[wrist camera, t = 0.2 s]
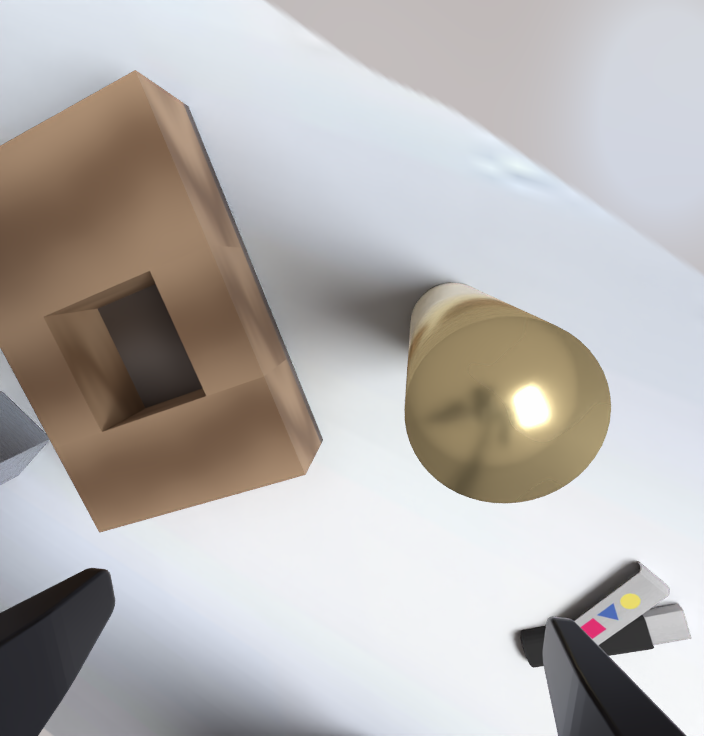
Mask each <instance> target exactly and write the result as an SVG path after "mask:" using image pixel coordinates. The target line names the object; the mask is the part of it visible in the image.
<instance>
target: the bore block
mask: <svg viewBox="0 0 704 736" xmlns="http://www.w3.org/2000/svg"><path fill="white" fill-rule="evenodd" d="M0 348H1V350H2V352H3V353H4V355H5V357H6V359H7V361H8V363H9V365H10V366H11V368H12V370H13V372H14V374H15V376H16V378H17V380H18V381H19V383H20V385H21V387H22V389H23V391H24V393H25V394H26V396H27V398H28V400H29V402H30V404H31V406H32V408H33V409H34V411H35V413H36V415H37V417H38V419H39V421H40V422H41V424H42V426H43V428H44V430H45V432H46V434H47V436H48V437H49V439H50V441H51V443H52V445H53V447H54V449H55V450H56V452H57V454H58V456H59V458H60V460H61V462H62V464H63V465H64V467H65V469H66V471H67V473H68V475H69V477H70V479H71V480H72V482H73V484H74V486H75V488H76V490H77V492H78V493H79V495H80V497H81V499H82V501H83V503H84V505H85V507H86V508H87V510H88V512H89V514H90V516H91V518H92V520H93V521H94V523H95V525H96V527H97V529H98V531H99V532H103V531H107V530H110V529H114V528H117V527H121V526H124V525H128V524H132V523H135V522H139V521H142V520H146V519H149V518H153V517H157V516H160V515H164V514H167V513H171V512H174V511H178V510H181V509H185V508H189V507H192V506H196V505H199V504H203V503H206V502H210V501H214V500H217V499H221V498H224V497H228V496H231V495H235V494H239V493H242V492H246V491H249V490H253V489H256V488H260V487H263V486H267V485H271V484H274V483H278V482H281V481H285V480H288V479H292V478H296V477H299V476H303V475H305V474H306V472H307V470H308V468H309V466H310V464H311V463H312V461H313V459H314V457H315V455H316V453H317V451H318V449H319V447H320V445H321V443H322V441H323V439H322V436H321V434H320V431H319V429H318V426H317V424H316V421H315V419H314V416H313V414H312V411H311V409H310V407H309V404H308V402H307V399H306V397H305V394H304V392H303V389H302V387H301V384H300V382H299V379H298V377H297V374H296V372H295V369H294V367H293V364H292V362H291V360H290V357H289V355H288V352H287V350H286V347H285V345H284V342H283V340H282V337H281V335H280V332H279V330H278V327H277V325H276V322H275V320H274V317H273V315H272V313H271V310H270V308H269V305H268V303H267V300H266V298H265V295H264V293H263V290H262V288H261V285H260V283H259V280H258V278H257V275H256V273H255V270H254V268H253V265H252V263H251V261H250V258H249V256H248V253H247V251H246V248H245V246H244V243H243V241H242V238H241V236H240V233H239V231H238V228H237V226H236V223H235V221H234V218H233V216H232V214H231V211H230V209H229V206H228V204H227V201H226V199H225V196H224V194H223V191H222V189H221V186H220V184H219V181H218V179H217V176H216V174H215V171H214V169H213V167H212V164H211V162H210V159H209V157H208V154H207V152H206V149H205V147H204V144H203V142H202V139H201V137H200V134H199V132H198V129H197V127H196V124H195V122H194V120H193V117H192V115H191V112H190V110H189V107H188V106H187V105H186V104H184V103H183V102H181V101H180V100H178V99H177V98H175V97H174V96H172V95H171V94H170V93H168V92H167V91H165V90H164V89H162V88H161V87H159V86H158V85H156V84H155V83H153V82H152V81H151V80H149V79H148V78H146V77H145V76H143V75H142V74H140V73H139V72H137V71H136V70H135V71H133V72H131V73H129V74H128V75H126V76H124V77H122V78H120V79H119V80H117V81H115V82H113V83H112V84H110V85H108V86H106V87H104V88H103V89H101V90H99V91H97V92H95V93H94V94H92V95H90V96H88V97H87V98H85V99H83V100H81V101H79V102H78V103H76V104H74V105H72V106H70V107H69V108H67V109H65V110H63V111H62V112H60V113H58V114H56V115H54V116H53V117H51V118H49V119H47V120H46V121H44V122H42V123H40V124H38V125H37V126H35V127H33V128H31V129H29V130H28V131H26V132H24V133H22V134H21V135H19V136H17V137H15V138H13V139H12V140H10V141H8V142H6V143H5V144H3V145H1V146H0Z"/></svg>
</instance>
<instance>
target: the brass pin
mask: <svg viewBox="0 0 704 736" xmlns="http://www.w3.org/2000/svg"><path fill="white" fill-rule="evenodd" d="M610 413H611V400H610V392H609V387H608V383H607V380H606V378H605V375H604V372H603V370H602V368H601V367H600V365H599V363H598V361H597V360H596V358H595V357H594V356H593V354H592V353H591V352H590V350H589V349H588V348H587V347H586V346H585V345H584V344H583V343H582V342H581V341H580V340H578V339H577V338H575V337H574V336H573V335H571V334H570V333H569V332H567V331H565V330H563V329H561V328H559V327H557V326H555V325H553V324H551V323H549V322H547V321H544V320H542V319H540V318H538V317H536V316H534V315H531V314H529V313H527V312H525V311H523V310H520V309H518V308H516V307H514V306H512V305H510V304H507V303H505V302H503V301H501V300H499V299H496V298H494V297H492V296H490V295H488V294H485V293H483V292H481V291H479V290H477V289H475V288H472V287H470V286H468V285H465V284H460V283H446V284H441V285H438V286H436V287H434V288H432V289H430V290H429V291H427V292H426V293H425V294H424V295H423V296H422V297H421V298H420V299H419V300H418V302H417V303H416V305H415V307H414V309H413V312H412V315H411V322H410V336H409V351H408V366H407V381H406V396H405V424H406V431H407V434H408V438H409V441H410V444H411V446H412V448H413V450H414V452H415V454H416V456H417V457H418V459H419V461H420V462H421V464H422V465H423V466H424V467H425V468H426V470H427V471H428V472H429V473H430V474H431V475H432V476H433V477H434V478H435V479H437V480H438V481H439V482H440V483H442V484H443V485H445V486H446V487H448V488H449V489H451V490H453V491H455V492H457V493H459V494H461V495H464V496H466V497H469V498H472V499H476V500H480V501H485V502H492V503H516V502H523V501H529V500H533V499H536V498H540V497H543V496H546V495H548V494H550V493H552V492H555V491H557V490H558V489H560V488H562V487H564V486H565V485H567V484H568V483H570V482H571V481H572V480H574V479H575V478H576V477H577V476H579V475H580V474H581V473H582V472H583V471H584V470H585V469H586V468H587V467H588V465H589V464H590V463H591V462H592V460H593V459H594V458H595V456H596V455H597V453H598V451H599V449H600V448H601V446H602V444H603V441H604V439H605V436H606V434H607V430H608V426H609V422H610Z"/></svg>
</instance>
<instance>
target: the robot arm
mask: <svg viewBox="0 0 704 736" xmlns="http://www.w3.org/2000/svg"><path fill="white" fill-rule="evenodd" d="M114 606H115V596H114V591H113V585H112V580H111V575H110V573H109V572H108V570H106V569H97V568H89V569H86V570H84V571H82V572H80V573H78V574H76V575H74V576H72V577H70V578H68V579H66V580H64V581H62V582H60V583H58V584H56V585H54V586H52V587H50V588H48V589H46V590H44V591H42V592H40V593H39V594H37V595H35V596H33V597H31V598H29V599H27V600H25V601H23V602H21V603H19V604H17V605H15V606H13V607H11V608H9V609H7V610H5V611H3V612H1V613H0V736H38V735H39V733H40V732H41V730H42V729H43V728H44V726H45V725H46V723H47V722H48V720H49V719H50V717H51V716H52V714H53V713H54V711H55V710H56V708H57V707H58V705H59V704H60V702H61V701H62V699H63V698H64V696H65V694H66V693H67V691H68V690H69V688H70V686H71V685H72V683H73V681H74V680H75V678H76V676H77V675H78V673H79V671H80V669H81V667H82V666H83V664H84V662H85V660H86V659H87V657H88V655H89V653H90V652H91V650H92V648H93V646H94V644H95V643H96V641H97V639H98V637H99V636H100V634H101V632H102V630H103V628H104V627H105V625H106V623H107V621H108V620H109V618H110V616H111V614H112V612H113V609H114ZM543 664H544V669H545V674H546V679H547V684H548V689H549V693H550V698H551V703H552V708H553V713H554V718H555V722H556V727H557V732H558V736H686V735H685V734H684V733H683V732H682V731H681V730H680V729H679V728H678V727H677V726H676V725H675V724H674V722H673V721H672V720H671V719H670V718H669V717H668V716H667V715H666V714H665V713H664V712H663V711H662V710H661V709H660V708H659V707H658V706H657V705H656V704H655V703H654V702H653V701H652V700H651V699H650V698H649V697H648V696H647V695H646V694H645V693H644V692H643V691H642V690H641V689H640V688H639V687H638V686H637V685H636V684H635V683H634V682H633V681H632V679H631V678H630V677H629V676H628V675H627V674H626V673H625V672H624V671H623V670H622V669H621V668H620V667H619V666H618V665H617V664H616V663H615V662H614V661H613V660H612V659H611V658H610V657H609V656H608V655H607V654H606V653H605V652H604V651H603V650H602V649H601V648H600V647H599V646H598V645H597V644H596V643H595V642H594V641H593V640H592V639H591V638H590V637H589V635H588V634H587V633H586V632H585V631H584V630H583V629H582V628H581V627H580V626H579V625H578V624H577V623H576V622H575V621H573V620H572V619H569V618H560V617H550V618H548V620H547V624H546V630H545V638H544V645H543Z"/></svg>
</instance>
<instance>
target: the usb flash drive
mask: <svg viewBox="0 0 704 736" xmlns="http://www.w3.org/2000/svg"><path fill="white" fill-rule="evenodd" d="M638 563H639V565H640V572H639V573H638V574H636V575H635V576H634V577H632V578H631V579H630V580H628V581H627V582H626V583H624V584H623V585H622V586H620V587H619V588H618V589H616V590H615V591H614V592H612V593H611V594H610V595H608V596H607V597H605V598H604V599H603V600H601V601H600V602H599V603H597V604H596V605H595V606H593V607H592V608H591V609H589V610H588V611H587V612H585V613H584V614H583V615H581V616H580V617H579V618H577V619H576V620H574V621H575V622H576V623H577V624H578V625H579V626H580V627H581V628H582V629H583V630H584V631H585V632H586V633H587V634H588V635H589V637H590V638H591V639H592V640H593V641H594V642H595V643H596V644H597V645H598V646H599V647H600V648H601V649H602V650H603V651H604V652H605V653H606V654H607V655H608V656H610V655H616V654H623V653H629V652H636V651H642V650H649V649H653V648H654V646H653V645H657V644H663V643H669V642H674V641H680V640H686V639H691V635H690V632H689V628H688V625H687V621H686V618H685V614H684V611H683V609H682V608H681V607H680V605H679V604H673V605H668V606H662V607H657V608H652V607H653V606H655V605H656V604H658V603H659V602H661V601H662V600H663V599H665V598H666V597H668V595H669V593H670V589H669V587H668V586H667V584H665V583H664V582H663V581H662V580H661V579H659V578H658V577H657V576H656V575H655V574H653V573H652V572H651V571H650V570H649V569H647V568H646V567H645V566H644V565H643V564H641V563H640V562H639V561H638ZM651 608H652V609H651ZM545 630H546V626H543V627H538V628H533V629H528V630H522V631H521V641H522V645H523V649H524V652H525V655H526V658H527V660H528V662H529V664H530V665H531V666H532V667H540V666H544V664H543V645H544V638H545Z"/></svg>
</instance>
